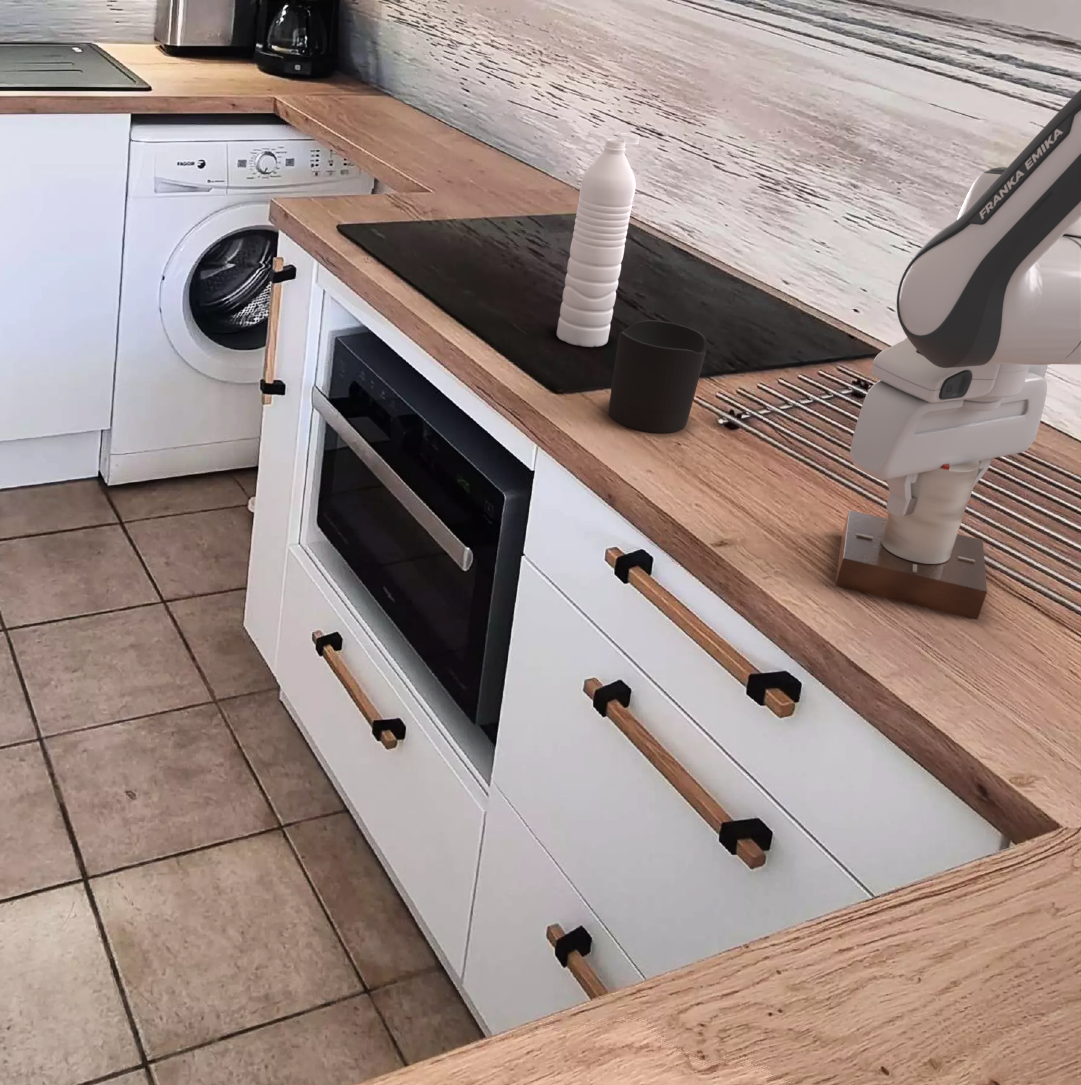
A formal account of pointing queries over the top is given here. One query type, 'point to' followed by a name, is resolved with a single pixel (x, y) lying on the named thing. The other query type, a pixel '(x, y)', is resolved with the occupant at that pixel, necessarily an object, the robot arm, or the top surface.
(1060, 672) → the top surface
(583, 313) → the water bottle
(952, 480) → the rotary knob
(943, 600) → the roll stand
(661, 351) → the pen holder
